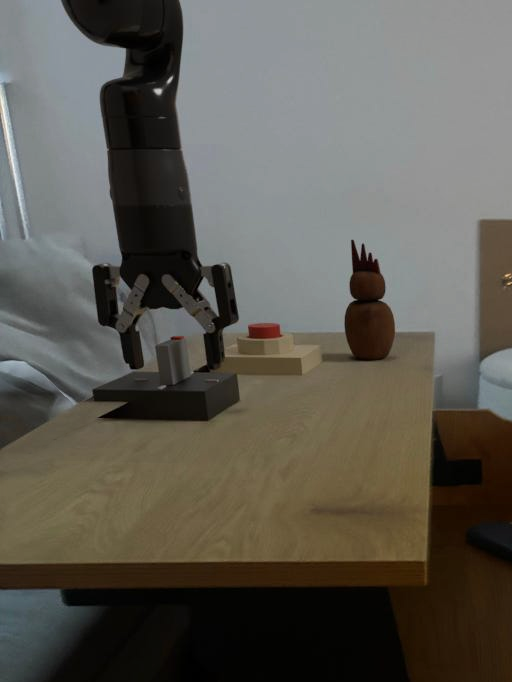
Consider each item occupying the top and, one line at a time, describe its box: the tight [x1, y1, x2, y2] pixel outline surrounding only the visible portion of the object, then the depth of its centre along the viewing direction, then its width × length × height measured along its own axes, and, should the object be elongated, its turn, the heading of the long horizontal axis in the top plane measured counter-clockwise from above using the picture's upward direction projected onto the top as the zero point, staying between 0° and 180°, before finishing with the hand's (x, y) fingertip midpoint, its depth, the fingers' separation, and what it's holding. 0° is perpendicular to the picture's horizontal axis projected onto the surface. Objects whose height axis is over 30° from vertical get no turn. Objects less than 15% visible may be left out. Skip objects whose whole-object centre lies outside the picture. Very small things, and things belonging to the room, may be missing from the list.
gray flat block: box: [154, 335, 192, 385], centre depth 104 cm, size 5×1×4 cm, turn 174°
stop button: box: [247, 322, 282, 339], centre depth 126 cm, size 4×4×2 cm
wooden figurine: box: [343, 239, 396, 361], centre depth 131 cm, size 7×6×15 cm
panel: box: [92, 371, 241, 421], centre depth 105 cm, size 12×10×3 cm
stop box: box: [209, 331, 323, 376], centre depth 127 cm, size 12×10×4 cm
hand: (175, 368), depth 104 cm, fingers open, 8 cm apart
